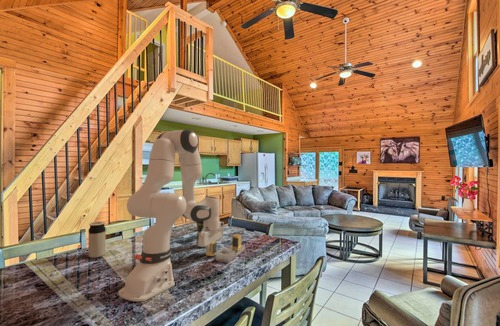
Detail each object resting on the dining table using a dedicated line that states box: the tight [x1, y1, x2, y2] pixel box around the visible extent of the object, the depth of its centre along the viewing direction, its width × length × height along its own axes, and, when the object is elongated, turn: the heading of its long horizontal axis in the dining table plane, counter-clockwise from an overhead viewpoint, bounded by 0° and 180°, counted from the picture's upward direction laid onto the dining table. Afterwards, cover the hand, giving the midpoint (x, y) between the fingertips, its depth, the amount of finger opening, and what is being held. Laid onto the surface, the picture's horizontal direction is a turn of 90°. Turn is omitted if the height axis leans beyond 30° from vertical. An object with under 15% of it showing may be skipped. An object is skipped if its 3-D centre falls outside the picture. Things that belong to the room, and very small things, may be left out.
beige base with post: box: [215, 233, 246, 264], centre depth 138 cm, size 22×8×9 cm, turn 158°
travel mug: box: [88, 220, 107, 259], centre depth 135 cm, size 8×8×18 cm
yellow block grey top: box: [205, 241, 218, 257], centre depth 135 cm, size 4×4×7 cm
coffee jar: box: [195, 221, 205, 249], centre depth 152 cm, size 10×8×19 cm
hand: (211, 250), depth 136 cm, fingers closed on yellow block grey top, 4 cm apart
